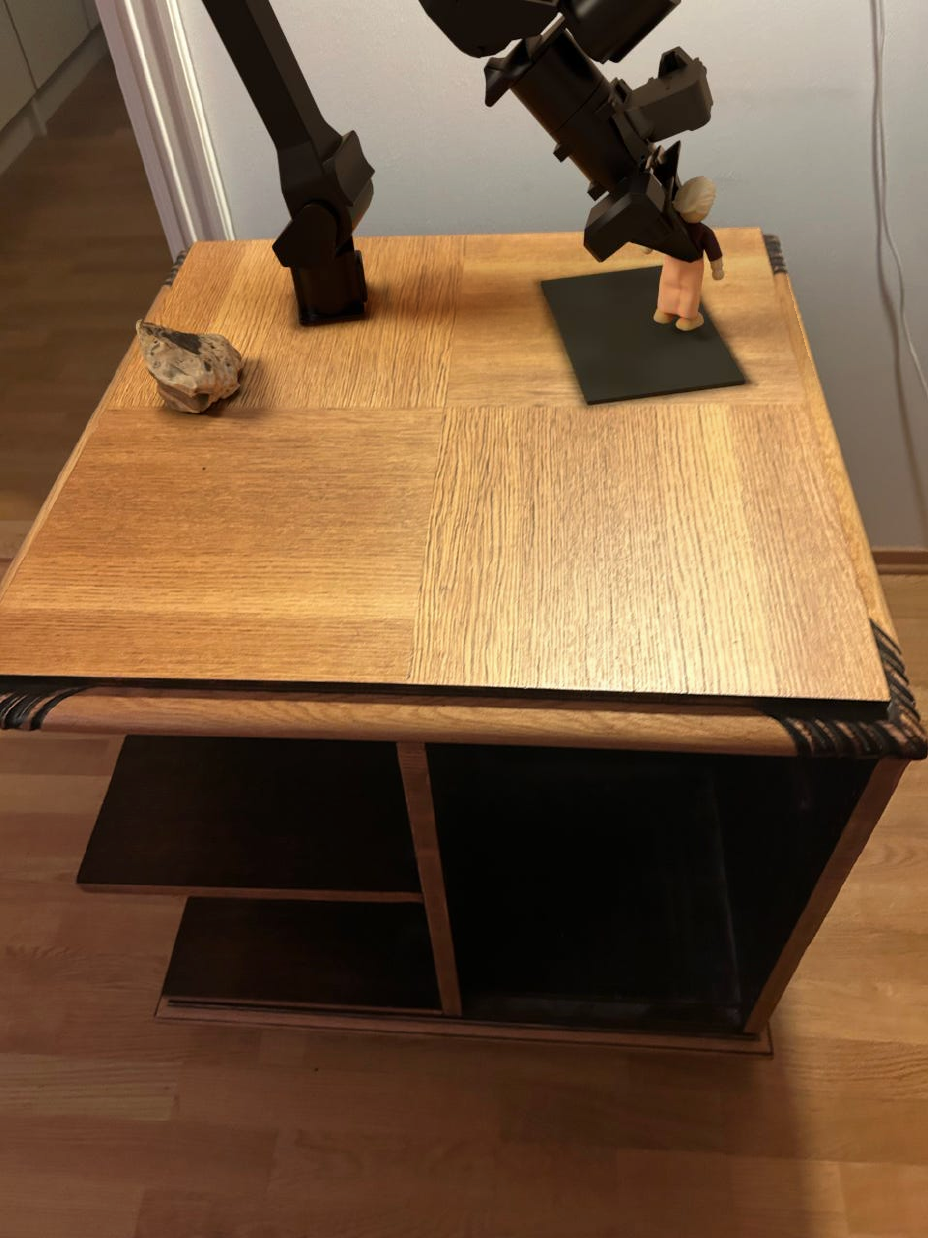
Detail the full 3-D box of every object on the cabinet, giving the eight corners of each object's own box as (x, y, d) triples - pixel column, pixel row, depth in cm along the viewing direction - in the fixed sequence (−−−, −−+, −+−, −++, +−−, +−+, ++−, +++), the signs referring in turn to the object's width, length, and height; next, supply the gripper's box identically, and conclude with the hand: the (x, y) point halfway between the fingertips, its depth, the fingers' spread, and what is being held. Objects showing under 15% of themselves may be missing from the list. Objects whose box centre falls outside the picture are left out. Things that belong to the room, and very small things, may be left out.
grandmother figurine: (718, 315, 84) (751, 176, 74) (708, 338, 82) (740, 197, 72) (637, 297, 86) (659, 159, 76) (625, 318, 84) (646, 179, 74)
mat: (586, 404, 79) (587, 401, 79) (540, 284, 92) (540, 280, 92) (745, 383, 80) (745, 379, 79) (677, 266, 93) (677, 262, 92)
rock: (148, 346, 86) (100, 337, 76) (209, 302, 85) (169, 287, 75) (203, 427, 87) (162, 429, 77) (264, 385, 86) (231, 381, 76)
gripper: (642, 75, 61) (778, 247, 67) (670, -18, 72) (784, 137, 79) (524, 186, 68) (656, 331, 75) (566, 86, 80) (678, 219, 86)
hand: (697, 250), depth 78 cm, fingers closed on grandmother figurine, 3 cm apart
